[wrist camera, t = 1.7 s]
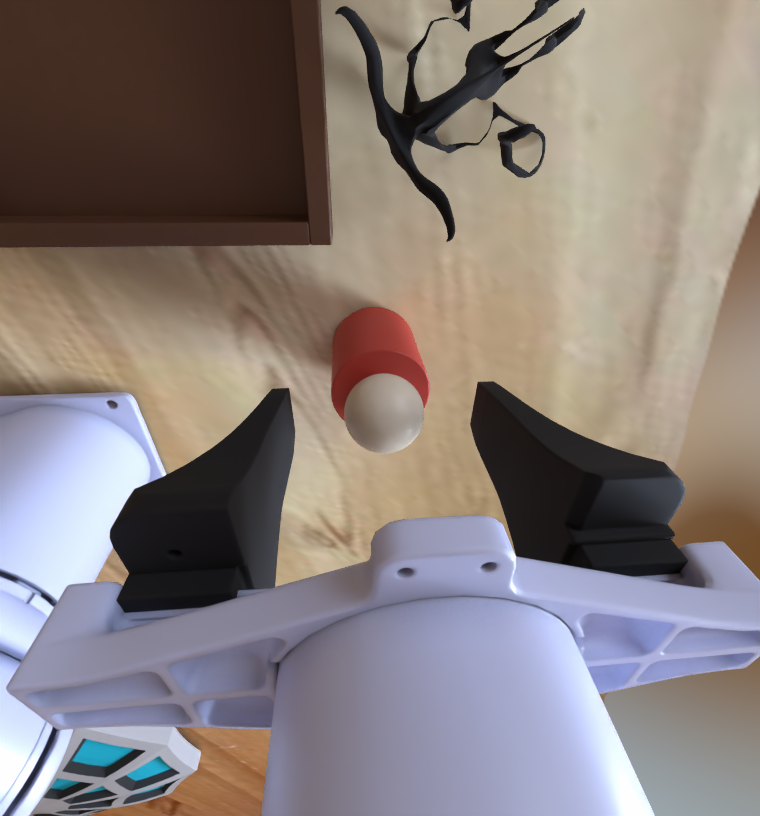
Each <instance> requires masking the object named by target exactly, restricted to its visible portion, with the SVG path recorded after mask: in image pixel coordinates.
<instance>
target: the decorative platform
mask: <svg viewBox="0 0 760 816" xmlns="http://www.w3.org/2000/svg"><path fill="white" fill-rule="evenodd" d="M200 754H201V751H199V750H198V749H197V748H195V747H194V746H193V745H191V744H190V743H189V742H188V741H186V740H185V739H184V738H183V737H182V735H181V734H180V733H179V732H178V730H177V729H176V727H149V726H126V727H96V728H82V729H73V732H72V735H71V738H70V741H69V744H68V747H67V749H66V752H65V754H64V757H63V759H62V761H61V763H60V766H59V768H58V770H57V772H56V774H55V776H54V777H53V779H52V781H51V783H50V785H49V786H48V788H47V790H46V791H45V793H44V795H43V796H42V798H41V799H40V801H39V802H38V804H37V805H36V807H35V808H34V810H33V811H32V812H31V814H30V815H29V816H84V815H90V814H94V813H97V812H100V811H104V810H107V809H109V808H116V807H122V806H128V805H133V804H137V803H142V802H145V801H149V800H152V799H155V798H158V797H162V796H164V795H167V794H170V793H172V792H173V790H174V789H175V788H176V786H177V785H178V784H179V783H180V782H181V781H183V780H184V779H185V778H186V777H188V776H189V775H191V774H192V773H194V772H195V771H196V770H197V768H198V763H199V759H200Z"/></svg>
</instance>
